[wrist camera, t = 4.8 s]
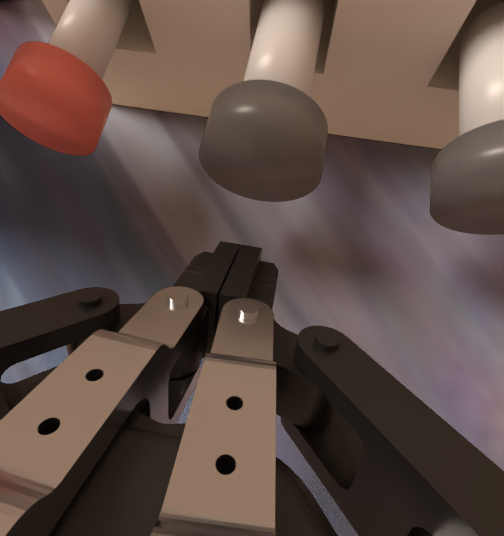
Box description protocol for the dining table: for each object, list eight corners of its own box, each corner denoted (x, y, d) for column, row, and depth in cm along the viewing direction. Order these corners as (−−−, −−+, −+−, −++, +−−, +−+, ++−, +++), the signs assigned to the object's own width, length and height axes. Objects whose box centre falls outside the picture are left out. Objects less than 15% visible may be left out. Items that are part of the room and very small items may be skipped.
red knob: (110, 160, 16) (64, 95, 12) (35, 149, 16) (-34, 82, 13) (162, 22, 19) (137, -67, 15) (96, 14, 19) (55, -75, 15)
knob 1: (312, 208, 16) (334, 136, 11) (209, 192, 16) (186, 116, 11) (334, 64, 18) (359, -46, 13) (245, 53, 19) (239, -57, 14)
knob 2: (523, 241, 15) (647, 179, 10) (409, 223, 15) (476, 156, 10) (515, 85, 17) (610, -23, 13) (417, 73, 18) (474, -35, 13)
